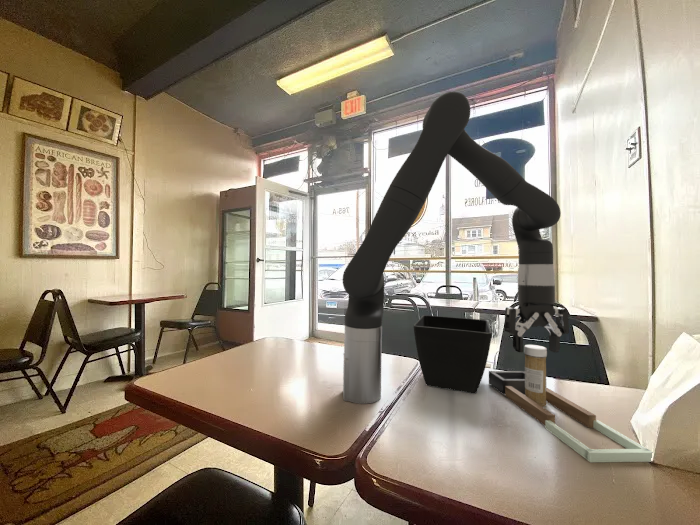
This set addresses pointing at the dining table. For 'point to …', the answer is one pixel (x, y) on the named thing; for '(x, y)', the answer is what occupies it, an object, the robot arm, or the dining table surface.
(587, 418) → the channel
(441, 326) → the flower pot
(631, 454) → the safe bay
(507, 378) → the bin
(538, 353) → the sprinkles bottle
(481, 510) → the dining table surface
